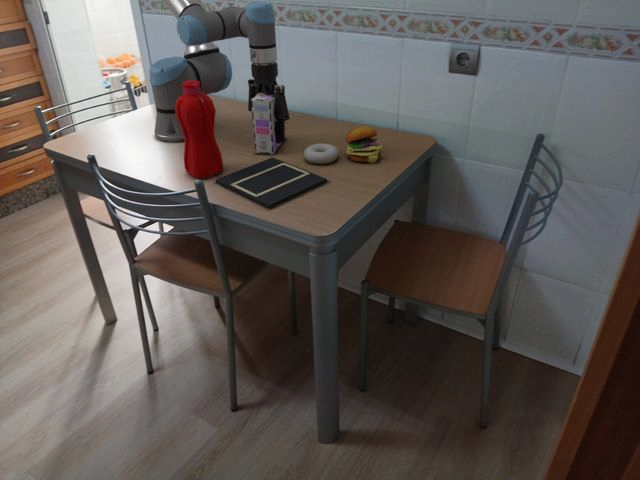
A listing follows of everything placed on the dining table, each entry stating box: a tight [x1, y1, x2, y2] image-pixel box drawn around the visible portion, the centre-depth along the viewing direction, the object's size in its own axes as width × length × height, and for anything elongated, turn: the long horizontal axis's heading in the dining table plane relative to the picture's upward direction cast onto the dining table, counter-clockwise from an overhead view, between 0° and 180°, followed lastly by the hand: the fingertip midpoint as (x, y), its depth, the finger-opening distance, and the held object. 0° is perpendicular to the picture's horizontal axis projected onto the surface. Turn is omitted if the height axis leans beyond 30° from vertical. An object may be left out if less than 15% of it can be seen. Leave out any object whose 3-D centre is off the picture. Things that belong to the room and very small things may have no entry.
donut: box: [303, 143, 340, 165], centre depth 150 cm, size 10×3×10 cm
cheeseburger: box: [344, 126, 383, 164], centre depth 149 cm, size 10×11×10 cm
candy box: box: [251, 93, 286, 155], centre depth 156 cm, size 14×6×16 cm, turn 168°
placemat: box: [215, 157, 328, 210], centre depth 138 cm, size 22×20×1 cm
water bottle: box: [175, 80, 224, 180], centre depth 138 cm, size 9×11×25 cm
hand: (270, 138), depth 159 cm, fingers closed on candy box, 9 cm apart
